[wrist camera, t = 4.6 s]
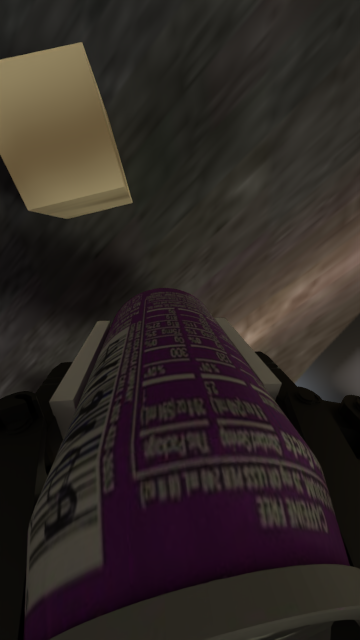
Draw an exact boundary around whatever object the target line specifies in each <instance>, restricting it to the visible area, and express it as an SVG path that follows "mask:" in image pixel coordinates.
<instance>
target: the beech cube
mask: <svg viewBox="0 0 360 640" xmlns="http://www.w3.org/2000/svg"><path fill="white" fill-rule="evenodd" d="M0 155H1V157H2V159H3V161H4V163H5V165H6V167H7V169H8V171H9V173H10V175H11V177H12V179H13V181H14V183H15V185H16V187H17V189H18V191H19V193H20V195H21V197H22V199H23V201H24V203H25V205H26V207H27V209H28V210H29V211H33V212H38V213H42V214H47V215H51V216H55V217H60V218H64V219H69V218H73V217H77V216H81V215H85V214H89V213H93V212H97V211H101V210H105V209H109V208H113V207H117V206H121V205H126V204H130V203H133V202H132V199H131V195H130V192H129V188H128V185H127V181H126V178H125V174H124V171H123V168H122V164H121V161H120V157H119V154H118V150H117V147H116V143H115V140H114V136H113V133H112V129H111V126H110V123H109V119H108V116H107V113H106V110H105V107H104V104H103V101H102V98H101V95H100V92H99V90H98V87H97V84H96V81H95V78H94V75H93V72H92V70H91V67H90V64H89V61H88V58H87V55H86V52H85V50H84V47H83V44H82V42H81V43H76V44H72V45H67V46H62V47H58V48H53V49H48V50H44V51H39V52H34V53H30V54H25V55H20V56H16V57H11V58H6V59H2V60H0Z"/></svg>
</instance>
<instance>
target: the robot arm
mask: <svg viewBox="0 0 360 640" xmlns="http://www.w3.org/2000/svg"><path fill="white" fill-rule="evenodd" d="M214 319H215V320H216V322H217V323H218V324H219V326H220V327H221V329H222V330H223V331H224V333H225V334H226V335H227V337H228V338H229V339H230V341H231V342H232V343H233V345H234V346H235V348H236V349H237V350H238V352H239V353H240V354H241V356H242V357H243V358H244V360H245V361H246V362H247V364H248V365H249V367H250V368H251V369H252V371H253V372H254V373H255V375H256V376H257V377H258V379H259V380H260V381H261V383H262V384H263V386H264V387H265V388H266V390H267V391H268V392H269V394H270V395H271V396H272V398H273V399H274V400H275V402H276V403H277V404H278V406H279V407H280V409H281V410H282V411H283V413H284V414H285V415H286V417H287V418H288V419H289V421H290V422H291V423H292V425H293V426H294V428H295V429H296V430H297V432H298V433H299V434H300V436H301V437H302V438H303V440H304V441H305V442H306V444H307V445H308V447H309V448H310V449H311V451H312V452H313V454H314V455H315V457H316V459H317V460H318V462H319V464H320V466H321V469H322V471H323V474H324V478H325V481H326V484H327V488H328V491H329V495H330V498H331V502H332V505H333V509H334V512H335V516H336V519H337V523H338V526H339V530H340V533H341V537H342V540H343V543H344V547H345V550H346V554H347V557H348V561H349V564H350V566H352V567H356V568H359V569H360V397H359V396H355V395H347V396H345V397H344V399H343V400H342V402H341V403H336V402H329V401H324V400H322V399H321V398H320V397H319V396H318V395H317V394H315V393H314V392H313V391H310V390H308V389H306V388H303V387H297V386H296V385H295V384H294V383H293V382H292V381H291V380H290V379H289V377H288V376H287V375H286V374H285V373H284V372H283V371H282V370H281V369H279V367H278V366H277V365H276V364H274V362H273V361H272V360H271V359H270V358H269V357H268V356H267V355H265V354H264V353H262V352H254V351H253V350H252V349H251V347H250V346H249V345H248V344H247V343H246V342H245V341H244V339H243V338H242V337H241V336H240V335H239V334H238V333H237V331H236V330H235V329H234V328H233V327H232V326H231V324H230V323H229V322H228V321H227V320H226V319H225V318H214ZM110 328H111V325H110V321H97V323H96V325H95V326H94V328H93V330H92V331H91V333H90V335H89V336H88V338H87V340H86V341H85V343H84V345H83V346H82V348H81V350H80V351H79V353H78V355H77V356H76V358H75V360H74V361H73V362H65V363H61V364H59V365H58V366H57V367H55V368H54V369H53V370H52V371H51V373H50V374H49V375H48V377H47V379H46V380H45V381H44V382H43V384H42V386H41V387H40V388H39V389H38V391H37V392H36V393H35V394H34V393H33V392H28V391H23V392H17V393H14V394H11V395H8V396H5V397H4V398H2V399H0V640H23V625H24V605H25V585H26V565H27V534H28V528H29V523H30V520H31V517H32V514H33V511H34V508H35V506H36V503H37V501H38V499H39V496H40V494H41V491H42V489H43V487H44V484H45V482H46V480H47V477H48V475H49V472H50V470H51V468H52V465H53V463H54V461H55V458H56V456H57V453H58V451H59V449H60V446H61V444H62V442H63V439H64V437H65V435H66V432H67V430H68V427H69V425H70V423H71V420H72V418H73V416H74V413H75V411H76V408H77V406H78V404H79V401H80V399H81V397H82V394H83V392H84V389H85V387H86V385H87V382H88V380H89V378H90V375H91V373H92V371H93V368H94V366H95V363H96V361H97V359H98V356H99V354H100V352H101V349H102V347H103V344H104V342H105V340H106V337H107V335H108V333H109V330H110ZM330 640H360V626H359V625H358V623H357V622H356V621H355V620H339V621H334V622H333V624H332V626H331V636H330Z"/></svg>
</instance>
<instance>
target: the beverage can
mask: <svg viewBox="0 0 360 640" xmlns="http://www.w3.org/2000/svg"><path fill="white" fill-rule="evenodd" d="M339 620H355V621H356V622H357V623H358V625H359V626H360V569H359V568H356V567H352V566H350V564H349V561H348V557H347V554H346V550H345V547H344V543H343V540H342V537H341V533H340V530H339V526H338V523H337V519H336V516H335V512H334V509H333V505H332V502H331V498H330V495H329V491H328V488H327V484H326V481H325V478H324V474H323V471H322V469H321V466H320V464H319V462H318V460H317V459H316V457H315V455H314V454H313V452H312V451H311V449H310V448H309V447H308V445H307V444H306V442H305V441H304V440H303V438H302V437H301V436H300V434H299V433H298V432H297V430H296V429H295V428H294V426H293V425H292V423H291V422H290V421H289V419H288V418H287V417H286V415H285V414H284V413H283V411H282V410H281V409H280V407H279V406H278V404H277V403H276V402H275V400H274V399H273V398H272V396H271V395H270V394H269V392H268V391H267V390H266V388H265V387H264V386H263V384H262V383H261V381H260V380H259V379H258V377H257V376H256V375H255V373H254V372H253V371H252V369H251V368H250V367H249V365H248V364H247V362H246V361H245V360H244V358H243V357H242V356H241V354H240V353H239V352H238V350H237V349H236V348H235V346H234V345H233V343H232V342H231V341H230V339H229V338H228V337H227V335H226V334H225V333H224V331H223V330H222V329H221V327H220V326H219V324H218V323H217V322H216V320H215V319H214V318H213V316H212V315H211V314H210V312H209V311H208V310H207V308H206V307H205V306H204V305H203V303H202V302H201V301H199V300H198V299H197V298H195V297H194V296H192V295H191V294H189V293H186V292H184V291H181V290H177V289H171V288H159V289H152V290H148V291H145V292H142V293H140V294H138V295H136V296H134V297H133V298H131V299H130V300H129V301H127V302H126V303H125V304H124V305H123V306H122V307H121V309H120V310H119V311H118V313H117V314H116V316H115V318H114V321H113V323H112V325H111V328H110V330H109V333H108V335H107V337H106V340H105V342H104V344H103V347H102V349H101V352H100V354H99V356H98V359H97V361H96V363H95V366H94V368H93V371H92V373H91V375H90V378H89V380H88V382H87V385H86V387H85V389H84V392H83V394H82V397H81V399H80V401H79V404H78V406H77V408H76V411H75V413H74V416H73V418H72V420H71V423H70V425H69V427H68V430H67V432H66V435H65V437H64V439H63V442H62V444H61V446H60V449H59V451H58V453H57V456H56V458H55V461H54V463H53V465H52V468H51V470H50V472H49V475H48V477H47V480H46V482H45V484H44V487H43V489H42V491H41V494H40V496H39V499H38V501H37V503H36V506H35V508H34V511H33V514H32V517H31V520H30V523H29V528H28V534H27V565H26V585H25V605H24V625H23V640H330V636H331V626H332V624H333V622H334V621H339Z"/></svg>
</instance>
